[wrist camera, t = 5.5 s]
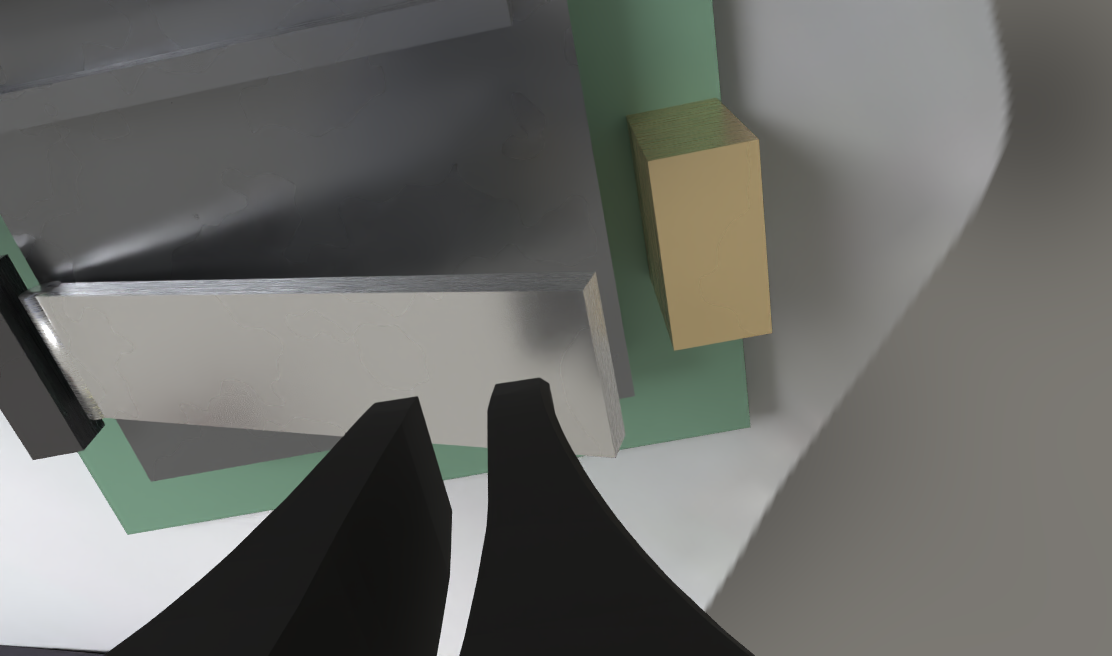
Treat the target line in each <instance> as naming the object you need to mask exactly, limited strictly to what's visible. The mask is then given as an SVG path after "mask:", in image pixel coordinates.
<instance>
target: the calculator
mask: <svg viewBox="0 0 1112 656" xmlns="http://www.w3.org/2000/svg"><path fill="white" fill-rule="evenodd" d="M104 655H105V654H95V653H84V652H72V651H61V650H49V649H38V648H27V647H15V646H3V645H0V656H104Z"/></svg>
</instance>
